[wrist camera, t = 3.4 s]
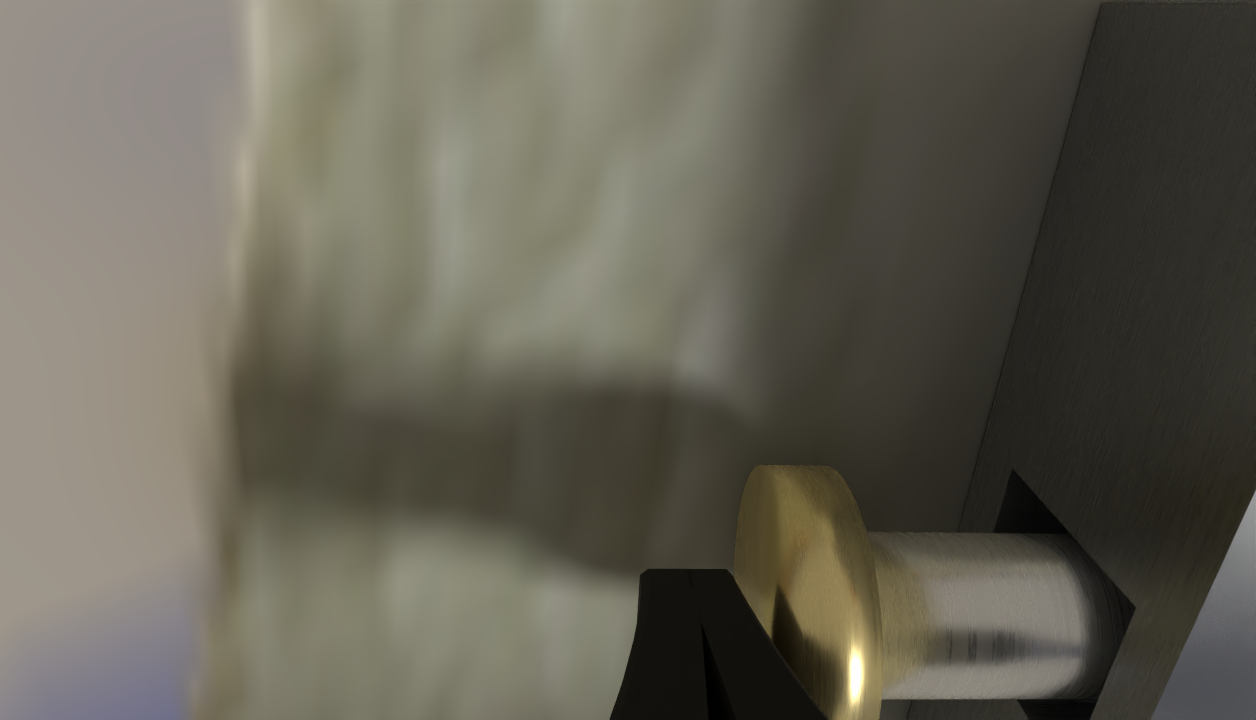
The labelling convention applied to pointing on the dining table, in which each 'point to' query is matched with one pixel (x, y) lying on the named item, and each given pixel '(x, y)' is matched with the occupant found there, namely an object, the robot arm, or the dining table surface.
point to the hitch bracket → (1143, 366)
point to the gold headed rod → (918, 602)
